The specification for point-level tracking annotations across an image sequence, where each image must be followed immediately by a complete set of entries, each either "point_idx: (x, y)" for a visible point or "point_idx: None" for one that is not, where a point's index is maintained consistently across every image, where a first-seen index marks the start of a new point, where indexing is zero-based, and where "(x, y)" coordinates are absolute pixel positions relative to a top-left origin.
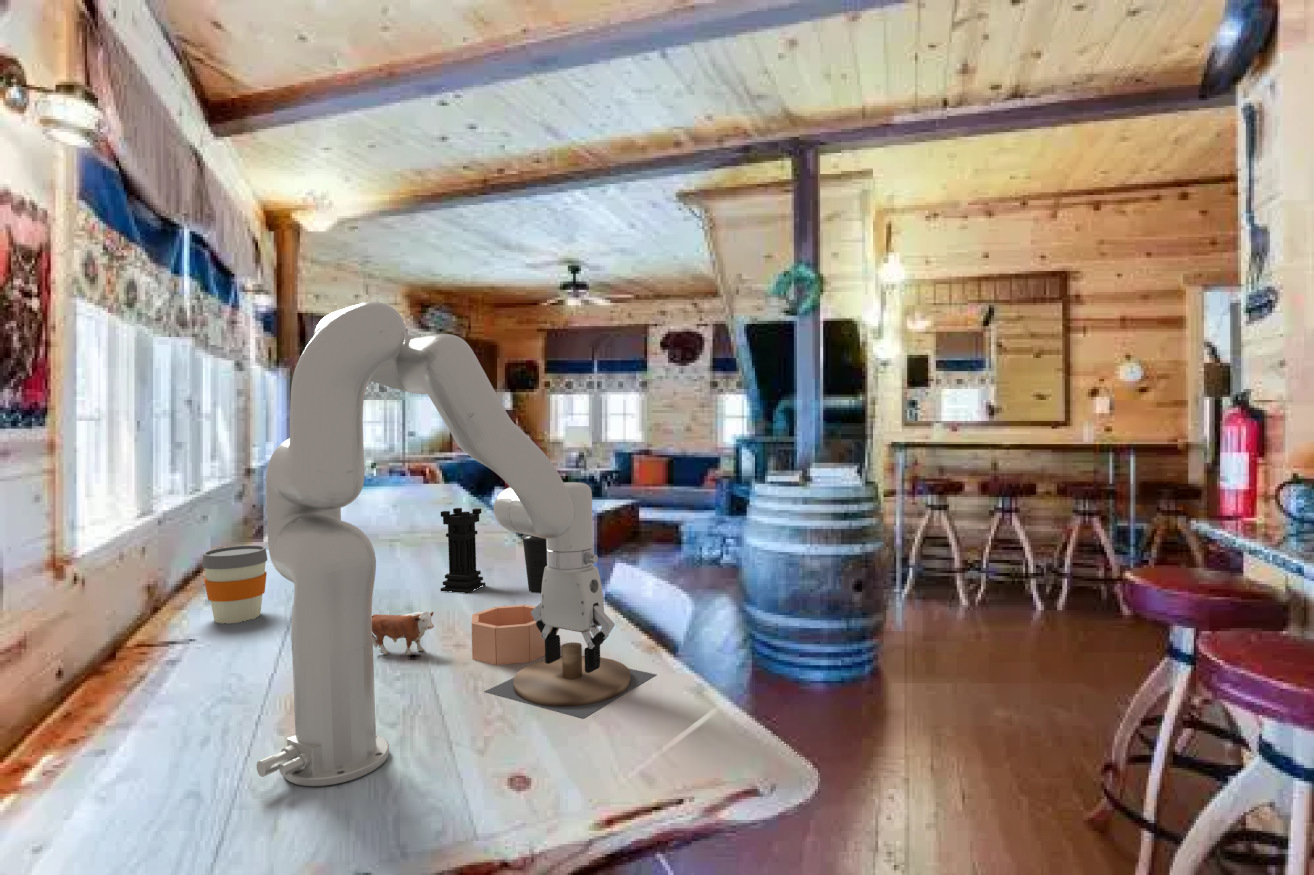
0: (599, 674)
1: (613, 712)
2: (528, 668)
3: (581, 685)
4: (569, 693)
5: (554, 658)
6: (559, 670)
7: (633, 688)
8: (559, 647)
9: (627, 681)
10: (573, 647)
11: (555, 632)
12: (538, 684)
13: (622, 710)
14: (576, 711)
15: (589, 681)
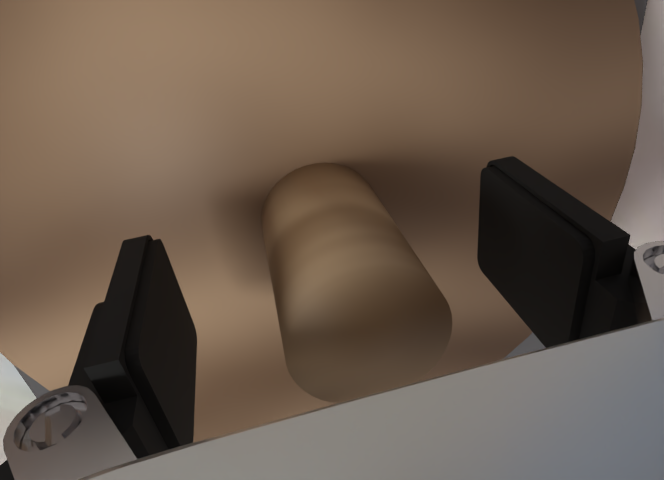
0: (441, 96)
1: (628, 244)
2: (11, 322)
3: (455, 263)
4: (466, 342)
5: (177, 300)
6: (187, 219)
7: (640, 30)
8: (154, 295)
9: (638, 56)
10: (416, 357)
11: (124, 439)
12: (278, 381)
13: (653, 211)
14: (528, 346)
15: (459, 208)
